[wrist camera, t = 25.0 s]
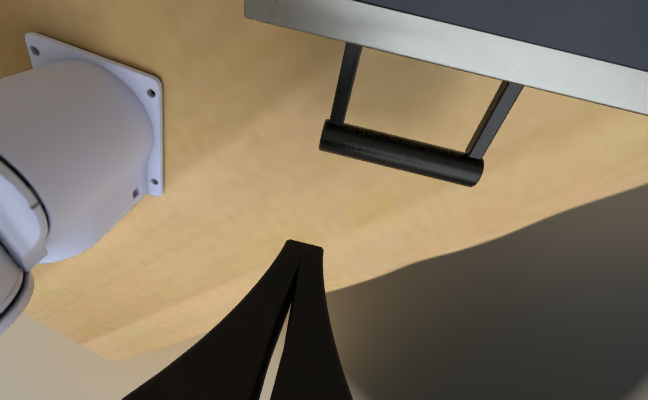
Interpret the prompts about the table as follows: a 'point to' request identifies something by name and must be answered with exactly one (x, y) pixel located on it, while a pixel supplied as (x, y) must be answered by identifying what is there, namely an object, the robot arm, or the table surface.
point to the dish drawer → (449, 51)
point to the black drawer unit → (548, 24)
